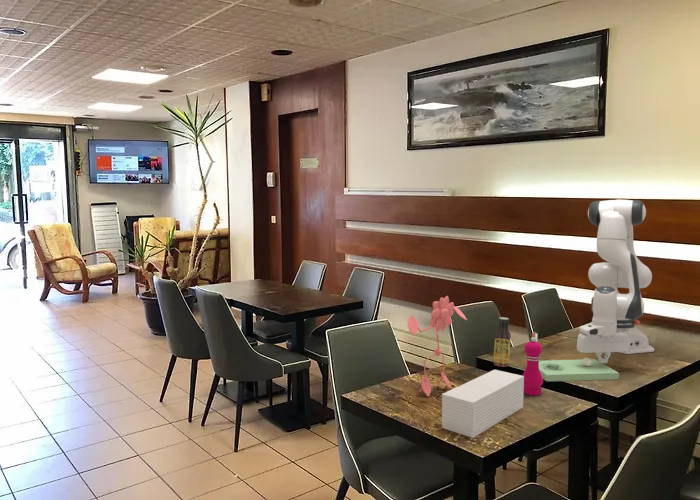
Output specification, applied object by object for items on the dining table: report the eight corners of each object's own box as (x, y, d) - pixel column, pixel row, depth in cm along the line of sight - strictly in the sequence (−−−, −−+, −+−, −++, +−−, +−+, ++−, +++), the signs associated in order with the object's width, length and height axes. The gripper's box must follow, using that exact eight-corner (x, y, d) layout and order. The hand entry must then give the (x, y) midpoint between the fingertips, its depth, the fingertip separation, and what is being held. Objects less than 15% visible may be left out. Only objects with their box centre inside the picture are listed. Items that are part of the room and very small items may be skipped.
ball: (589, 364, 223) (589, 356, 223) (593, 367, 219) (593, 358, 219) (580, 365, 223) (580, 356, 222) (584, 367, 219) (584, 358, 219)
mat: (593, 363, 232) (594, 329, 231) (618, 379, 213) (620, 341, 211) (526, 365, 230) (527, 331, 229) (546, 381, 211) (547, 343, 210)
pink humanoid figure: (400, 396, 196) (402, 297, 192) (450, 381, 212) (453, 289, 208) (432, 410, 184) (435, 305, 180) (483, 393, 200) (486, 296, 196)
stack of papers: (494, 399, 193) (494, 369, 192) (523, 407, 186) (523, 376, 185) (441, 428, 170) (442, 393, 169) (472, 438, 163) (473, 402, 162)
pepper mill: (544, 396, 195) (545, 340, 193) (522, 395, 197) (523, 339, 195) (541, 389, 202) (542, 335, 200) (520, 388, 204) (521, 334, 202)
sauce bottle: (492, 366, 229) (493, 319, 227) (494, 362, 235) (495, 315, 233) (509, 368, 227) (510, 320, 225) (510, 364, 233) (511, 317, 231)
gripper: (625, 326, 224) (623, 359, 225) (575, 327, 222) (574, 361, 224) (634, 329, 217) (632, 364, 219) (583, 331, 216) (581, 366, 217)
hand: (602, 363), depth 221 cm, fingers closed
